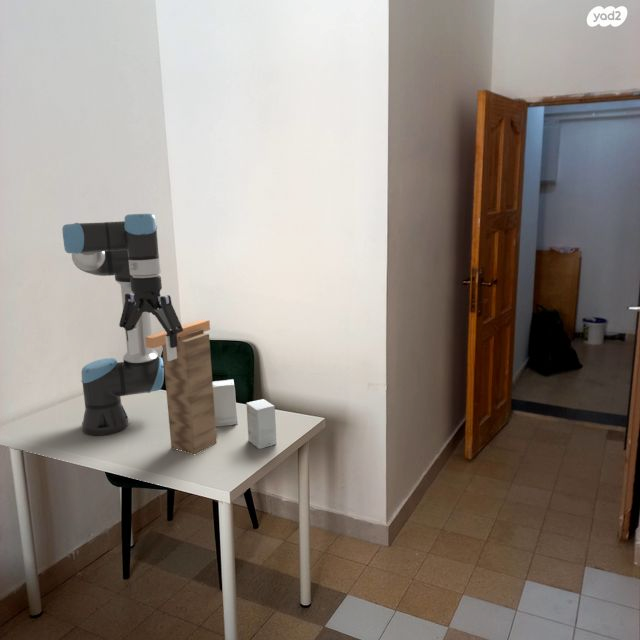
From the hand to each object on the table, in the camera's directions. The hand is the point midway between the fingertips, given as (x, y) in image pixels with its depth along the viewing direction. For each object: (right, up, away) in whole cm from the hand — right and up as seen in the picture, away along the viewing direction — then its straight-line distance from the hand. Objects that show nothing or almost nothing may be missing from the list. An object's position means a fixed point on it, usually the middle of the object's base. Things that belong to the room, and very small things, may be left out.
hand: (153, 356), depth 155 cm
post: (+3, -30, +35) cm, 46 cm away
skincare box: (+11, -26, +52) cm, 59 cm away
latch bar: (+1, +4, +24) cm, 25 cm away
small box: (+25, -30, +36) cm, 53 cm away
